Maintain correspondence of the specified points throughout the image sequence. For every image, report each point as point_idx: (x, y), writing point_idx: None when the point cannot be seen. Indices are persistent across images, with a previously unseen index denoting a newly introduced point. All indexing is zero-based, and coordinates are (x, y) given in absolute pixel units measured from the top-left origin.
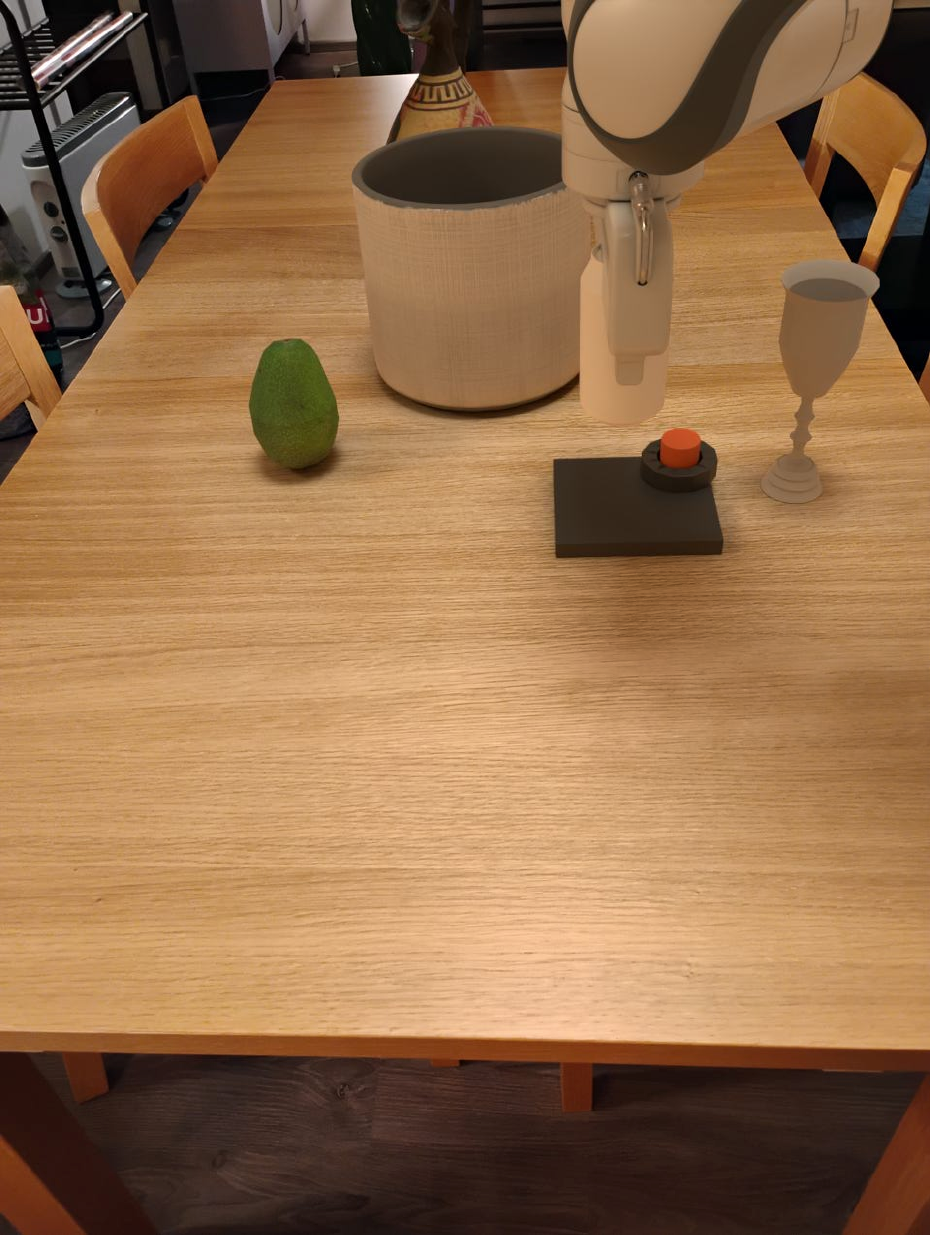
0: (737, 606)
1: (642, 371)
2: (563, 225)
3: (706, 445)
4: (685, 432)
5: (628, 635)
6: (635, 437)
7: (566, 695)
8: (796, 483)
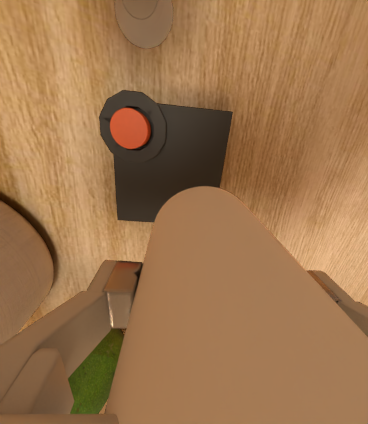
0: (284, 115)
1: (335, 284)
2: None
3: (116, 97)
4: (118, 122)
5: (286, 190)
6: (69, 151)
7: (316, 225)
8: (164, 6)
